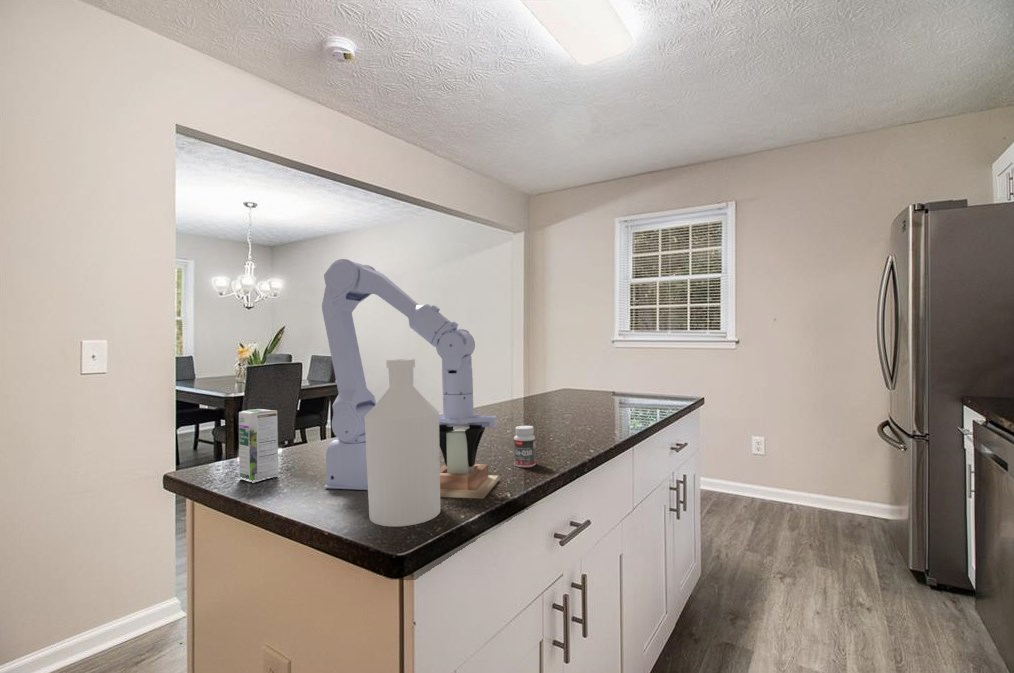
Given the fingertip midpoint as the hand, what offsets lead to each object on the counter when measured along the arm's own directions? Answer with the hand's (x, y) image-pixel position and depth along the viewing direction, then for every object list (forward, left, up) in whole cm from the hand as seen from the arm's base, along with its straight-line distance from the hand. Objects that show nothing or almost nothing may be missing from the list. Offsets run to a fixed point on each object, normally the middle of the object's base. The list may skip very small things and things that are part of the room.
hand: (460, 465), depth 92 cm
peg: (0, 0, -2) cm, 2 cm away
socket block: (0, 0, -4) cm, 4 cm away
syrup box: (-45, +1, -4) cm, 45 cm away
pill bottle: (+9, +18, -4) cm, 21 cm away
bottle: (-5, -14, -4) cm, 16 cm away
